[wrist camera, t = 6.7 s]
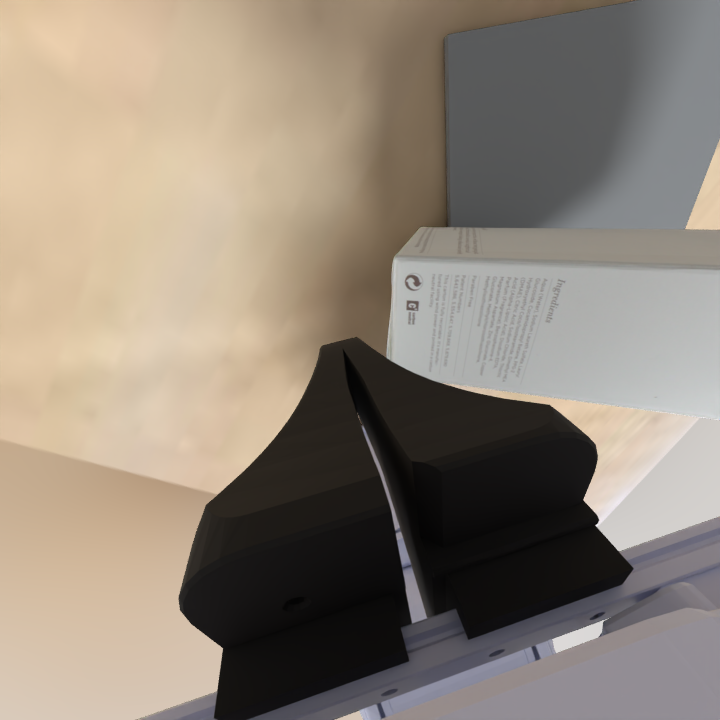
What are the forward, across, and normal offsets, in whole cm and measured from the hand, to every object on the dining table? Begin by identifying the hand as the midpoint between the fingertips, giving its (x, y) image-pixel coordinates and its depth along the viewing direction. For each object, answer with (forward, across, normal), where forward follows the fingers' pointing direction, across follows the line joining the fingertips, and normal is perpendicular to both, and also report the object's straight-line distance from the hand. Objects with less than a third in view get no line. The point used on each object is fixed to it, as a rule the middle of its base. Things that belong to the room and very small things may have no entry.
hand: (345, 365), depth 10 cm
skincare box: (+6, -4, 0) cm, 7 cm away
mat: (+9, -18, 0) cm, 20 cm away
